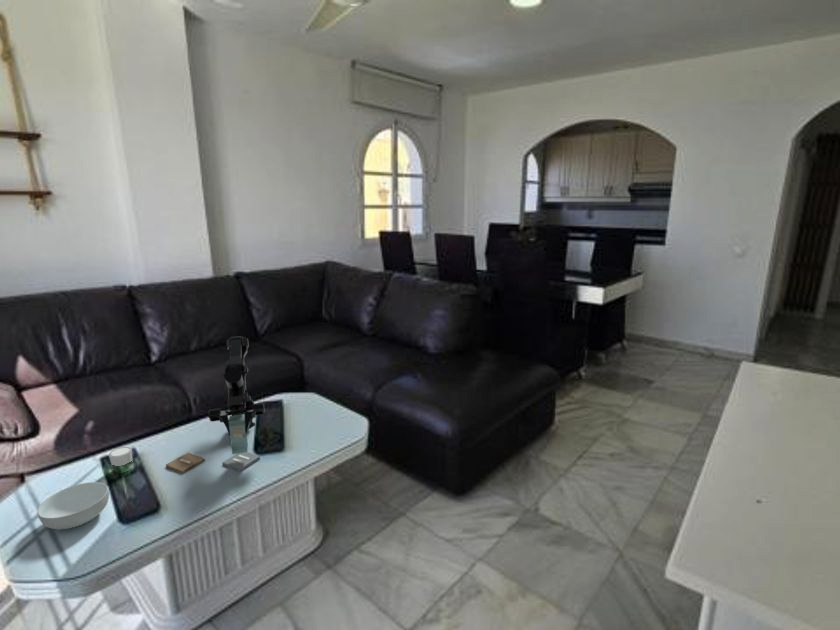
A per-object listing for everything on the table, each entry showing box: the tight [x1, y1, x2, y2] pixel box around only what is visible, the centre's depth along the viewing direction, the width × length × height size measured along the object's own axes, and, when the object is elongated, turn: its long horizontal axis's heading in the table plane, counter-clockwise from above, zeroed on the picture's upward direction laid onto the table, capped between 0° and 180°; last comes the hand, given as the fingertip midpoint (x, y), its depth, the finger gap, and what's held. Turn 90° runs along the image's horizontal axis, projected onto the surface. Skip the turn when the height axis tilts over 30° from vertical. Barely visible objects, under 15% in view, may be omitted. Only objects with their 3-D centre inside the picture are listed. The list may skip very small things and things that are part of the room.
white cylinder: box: [108, 446, 133, 466], centre depth 162 cm, size 7×7×7 cm
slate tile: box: [222, 451, 261, 472], centre depth 167 cm, size 9×9×1 cm
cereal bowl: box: [37, 481, 110, 530], centre depth 136 cm, size 17×17×7 cm
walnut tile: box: [165, 452, 206, 474], centre depth 165 cm, size 9×9×1 cm
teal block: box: [228, 414, 249, 455], centre depth 164 cm, size 5×5×12 cm
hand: (238, 434), depth 163 cm, fingers closed on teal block, 5 cm apart
